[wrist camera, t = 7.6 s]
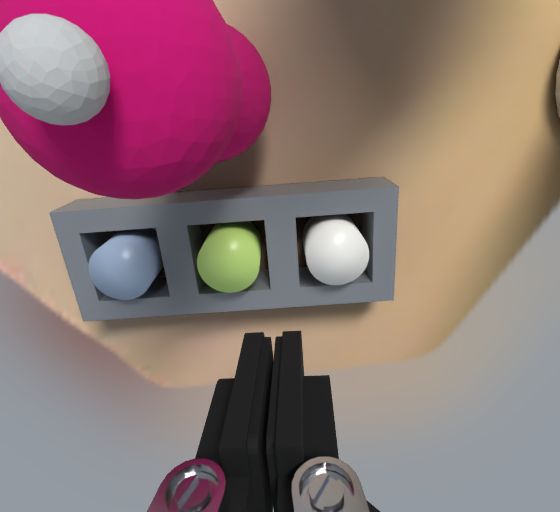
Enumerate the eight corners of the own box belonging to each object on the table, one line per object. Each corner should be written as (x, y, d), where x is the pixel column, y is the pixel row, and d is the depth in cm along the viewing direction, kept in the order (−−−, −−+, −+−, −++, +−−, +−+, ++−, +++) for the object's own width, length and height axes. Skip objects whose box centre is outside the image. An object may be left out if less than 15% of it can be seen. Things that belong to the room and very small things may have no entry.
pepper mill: (267, 158, 26) (242, 292, 7) (161, 148, 26) (-143, 260, 7) (276, 40, 23) (277, -223, 5) (159, 26, 23) (-343, -312, 4)
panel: (383, 176, 26) (398, 186, 23) (380, 278, 29) (393, 300, 26) (76, 199, 27) (49, 212, 24) (104, 298, 30) (83, 321, 27)
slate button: (162, 222, 27) (144, 241, 23) (172, 272, 28) (156, 297, 25) (107, 226, 27) (80, 245, 23) (120, 276, 28) (97, 302, 25)
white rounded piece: (356, 208, 27) (369, 224, 23) (356, 259, 28) (368, 283, 24) (300, 212, 27) (304, 229, 23) (303, 263, 28) (307, 287, 25)
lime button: (259, 215, 27) (256, 233, 23) (264, 266, 28) (262, 290, 25) (203, 219, 27) (192, 237, 23) (211, 270, 28) (202, 294, 25)
